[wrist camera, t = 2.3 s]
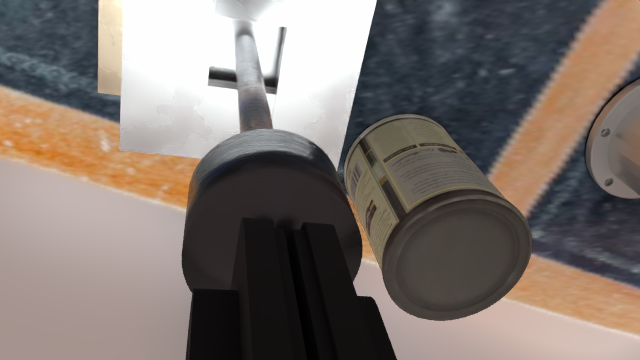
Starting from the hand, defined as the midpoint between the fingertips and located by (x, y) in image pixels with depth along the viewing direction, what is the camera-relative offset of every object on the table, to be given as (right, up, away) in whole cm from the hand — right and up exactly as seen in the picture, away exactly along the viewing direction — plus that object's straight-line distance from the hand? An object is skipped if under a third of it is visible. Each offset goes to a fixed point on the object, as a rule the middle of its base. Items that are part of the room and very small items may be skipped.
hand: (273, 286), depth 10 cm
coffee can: (+8, +3, +39) cm, 40 cm away
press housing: (-5, +16, +29) cm, 34 cm away
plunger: (-3, +8, +15) cm, 17 cm away
